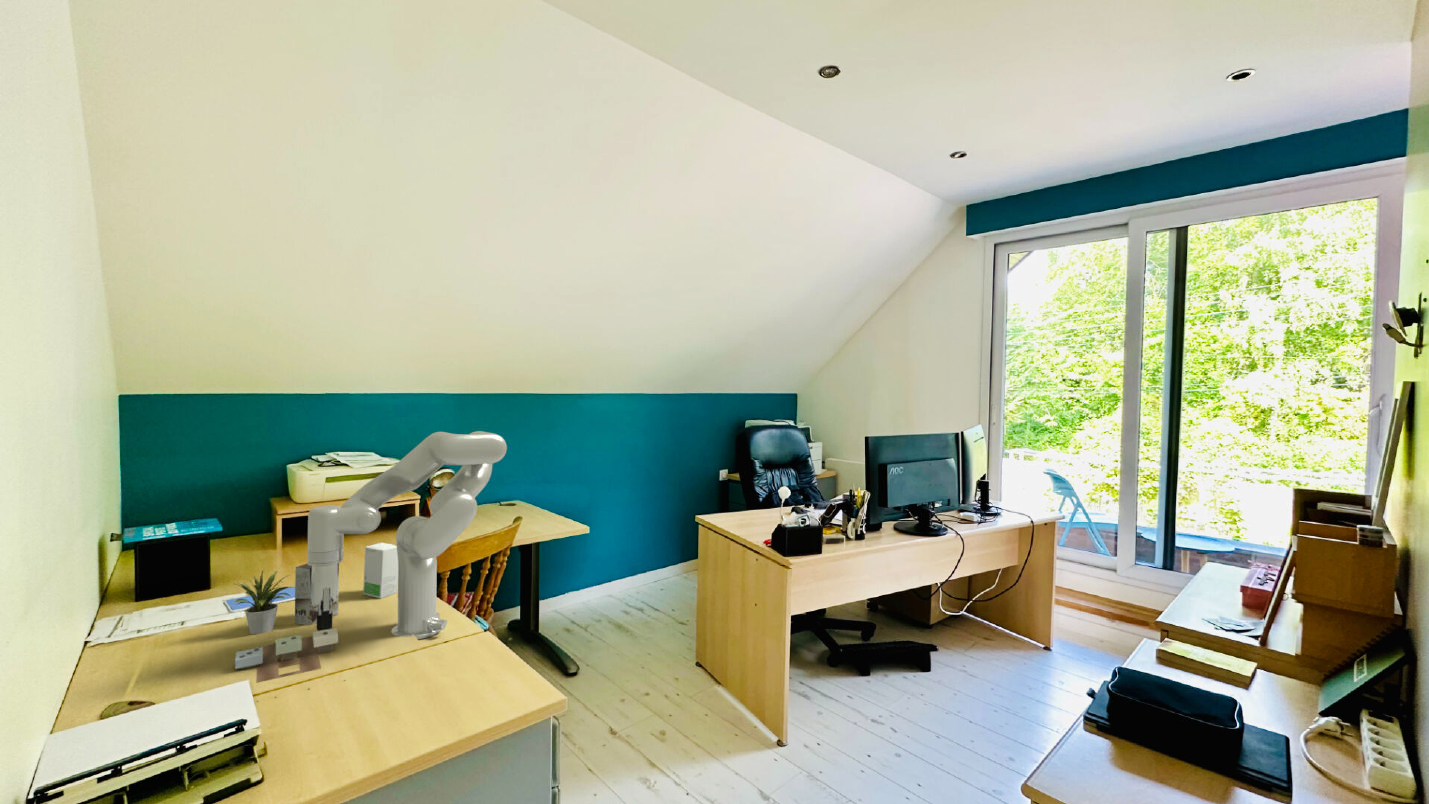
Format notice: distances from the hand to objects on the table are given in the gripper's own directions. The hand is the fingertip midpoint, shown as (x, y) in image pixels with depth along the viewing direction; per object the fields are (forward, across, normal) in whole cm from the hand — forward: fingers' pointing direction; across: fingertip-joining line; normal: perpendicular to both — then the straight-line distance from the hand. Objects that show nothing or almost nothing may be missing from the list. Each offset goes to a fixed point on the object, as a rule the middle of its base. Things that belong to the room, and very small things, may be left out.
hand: (324, 628), depth 150 cm
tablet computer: (+7, -53, -12) cm, 55 cm away
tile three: (+7, 0, -15) cm, 16 cm away
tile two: (+5, 0, -7) cm, 9 cm away
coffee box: (+7, -28, 0) cm, 28 cm away
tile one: (+5, 0, 0) cm, 5 cm away
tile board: (+7, 0, -7) cm, 10 cm away
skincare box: (+6, -40, +18) cm, 45 cm away
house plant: (+7, -25, -14) cm, 29 cm away
